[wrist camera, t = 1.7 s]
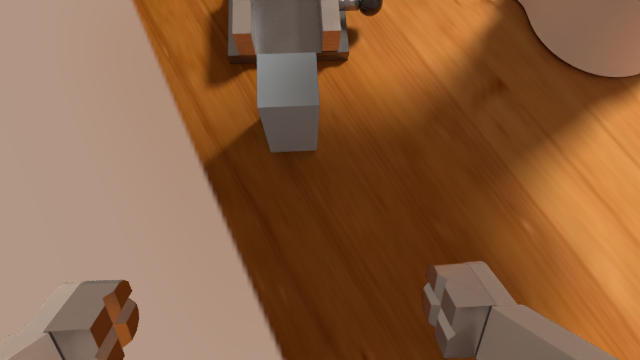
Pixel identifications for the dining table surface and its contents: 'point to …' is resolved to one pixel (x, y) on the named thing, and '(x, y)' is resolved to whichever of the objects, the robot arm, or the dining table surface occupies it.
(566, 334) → the robot arm
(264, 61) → the steel block
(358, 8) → the free jaw
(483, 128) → the dining table surface
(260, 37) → the vise
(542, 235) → the dining table surface
